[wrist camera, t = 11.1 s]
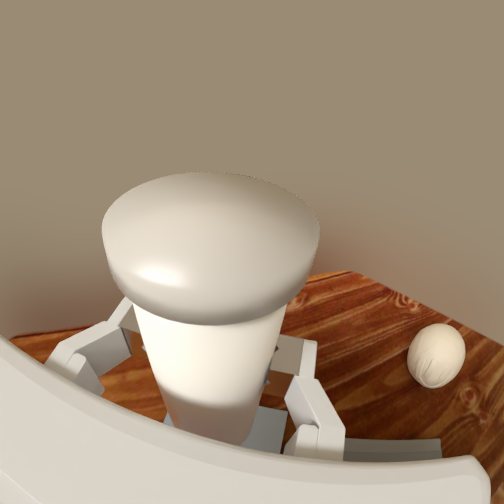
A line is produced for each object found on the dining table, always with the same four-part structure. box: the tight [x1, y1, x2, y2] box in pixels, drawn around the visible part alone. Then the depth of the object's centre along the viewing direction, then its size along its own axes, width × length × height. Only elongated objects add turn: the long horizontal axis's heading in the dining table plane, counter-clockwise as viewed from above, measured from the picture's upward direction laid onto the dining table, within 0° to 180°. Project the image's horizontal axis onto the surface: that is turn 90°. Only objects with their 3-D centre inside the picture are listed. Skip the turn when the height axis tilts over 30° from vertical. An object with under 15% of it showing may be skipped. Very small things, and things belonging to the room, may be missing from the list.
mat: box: [163, 406, 288, 454], centre depth 20 cm, size 10×10×1 cm
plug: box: [102, 172, 320, 446], centre depth 11 cm, size 5×5×13 cm
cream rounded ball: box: [407, 324, 465, 388], centre depth 25 cm, size 7×7×7 cm
